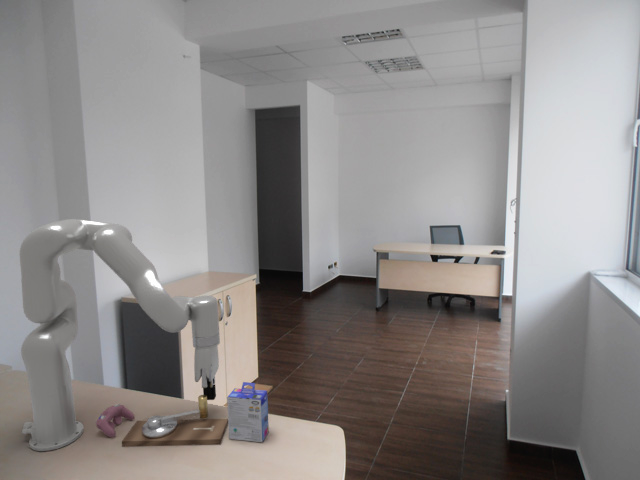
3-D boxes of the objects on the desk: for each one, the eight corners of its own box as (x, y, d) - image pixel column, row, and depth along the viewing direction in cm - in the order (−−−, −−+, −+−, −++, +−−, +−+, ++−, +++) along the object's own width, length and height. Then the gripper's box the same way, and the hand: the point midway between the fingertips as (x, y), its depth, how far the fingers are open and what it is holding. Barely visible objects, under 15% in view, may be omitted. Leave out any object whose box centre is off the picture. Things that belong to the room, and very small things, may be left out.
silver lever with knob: (141, 441, 109) (139, 417, 108) (142, 423, 118) (140, 400, 117) (209, 426, 115) (208, 403, 114) (206, 410, 124) (205, 388, 123)
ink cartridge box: (270, 431, 116) (267, 381, 114) (263, 443, 110) (261, 392, 108) (236, 427, 118) (233, 379, 115) (228, 439, 112) (225, 389, 110)
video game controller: (125, 422, 124) (113, 402, 124) (137, 417, 123) (125, 396, 123) (102, 443, 114) (89, 421, 114) (114, 437, 113) (102, 415, 113)
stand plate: (122, 446, 110) (121, 441, 110) (137, 425, 120) (137, 420, 119) (220, 444, 110) (220, 438, 110) (228, 423, 120) (228, 418, 119)
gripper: (200, 330, 128) (203, 386, 130) (185, 349, 113) (189, 413, 116) (224, 329, 128) (227, 385, 130) (213, 349, 113) (216, 412, 116)
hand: (209, 398), depth 123 cm, fingers closed
